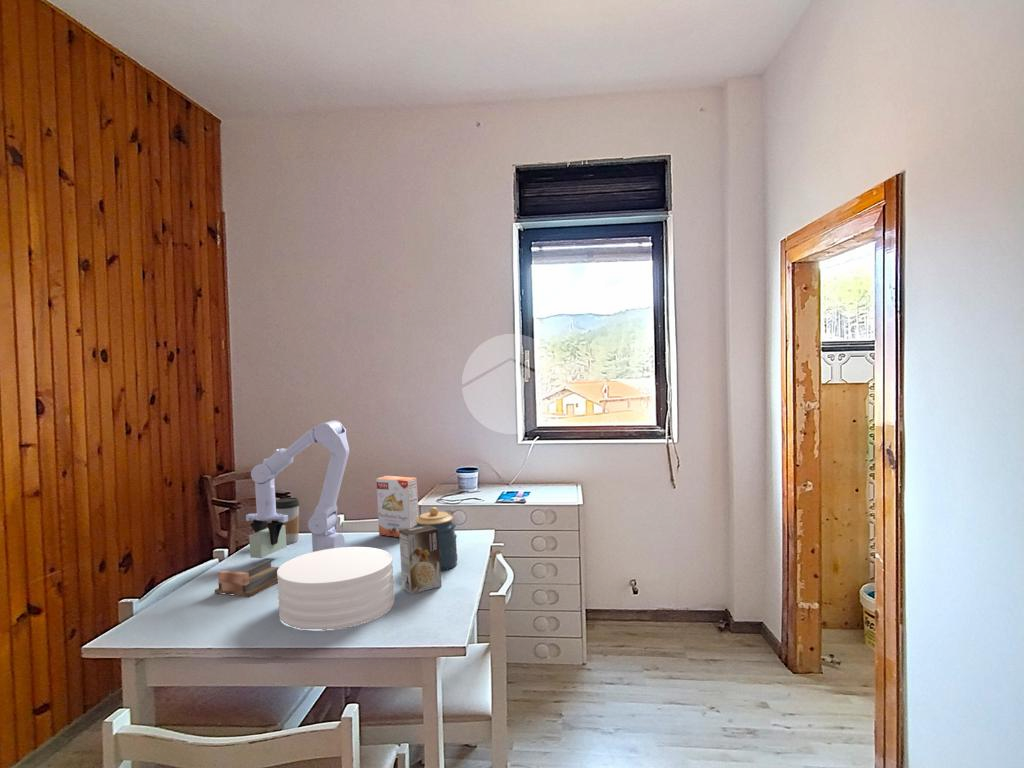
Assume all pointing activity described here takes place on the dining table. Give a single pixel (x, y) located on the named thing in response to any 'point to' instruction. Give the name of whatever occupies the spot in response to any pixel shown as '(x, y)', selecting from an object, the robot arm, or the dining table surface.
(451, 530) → the canister
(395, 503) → the cracker box
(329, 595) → the plate stack
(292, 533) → the coffee cup
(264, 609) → the dining table surface
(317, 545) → the robot arm
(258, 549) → the pale green block
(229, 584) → the track
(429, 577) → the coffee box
